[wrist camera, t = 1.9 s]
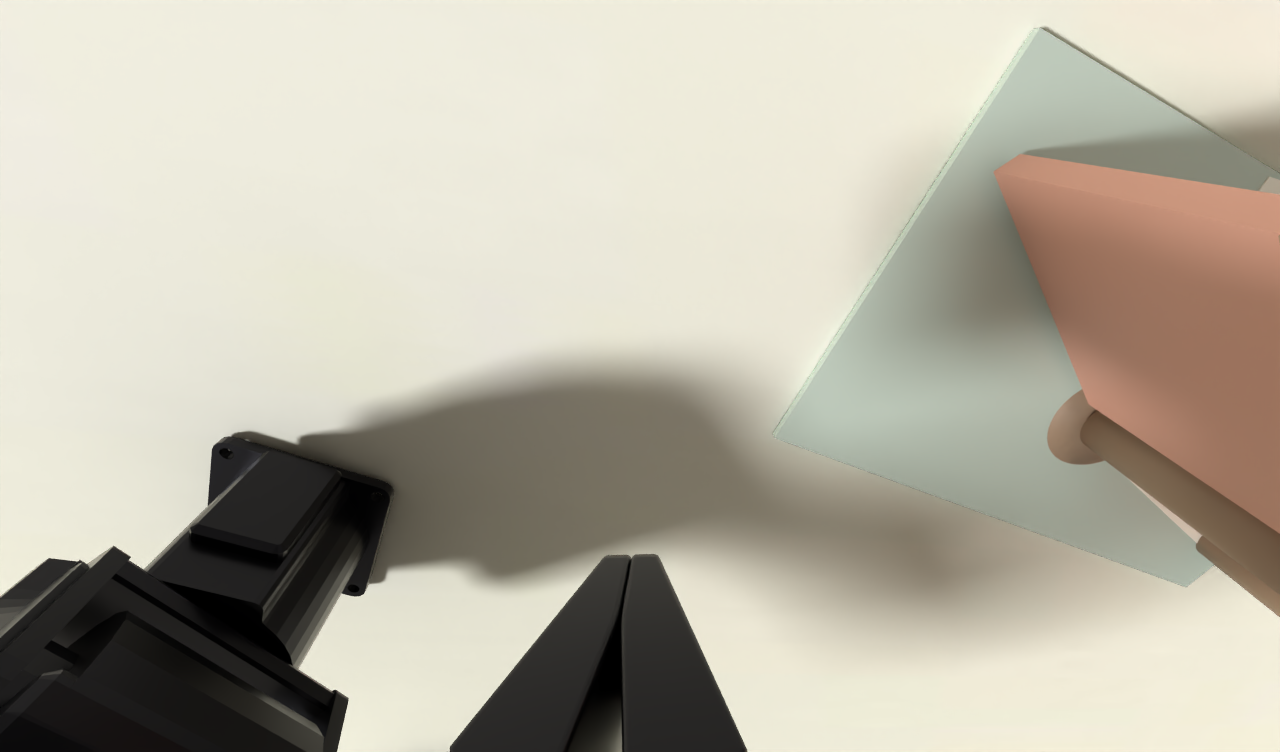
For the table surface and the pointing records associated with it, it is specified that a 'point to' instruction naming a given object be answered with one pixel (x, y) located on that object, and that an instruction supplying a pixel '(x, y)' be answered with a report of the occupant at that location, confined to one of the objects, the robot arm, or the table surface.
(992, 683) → the table surface
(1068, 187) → the swing panel
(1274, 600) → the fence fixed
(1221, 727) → the table surface
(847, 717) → the table surface
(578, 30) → the table surface
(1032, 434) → the mat
